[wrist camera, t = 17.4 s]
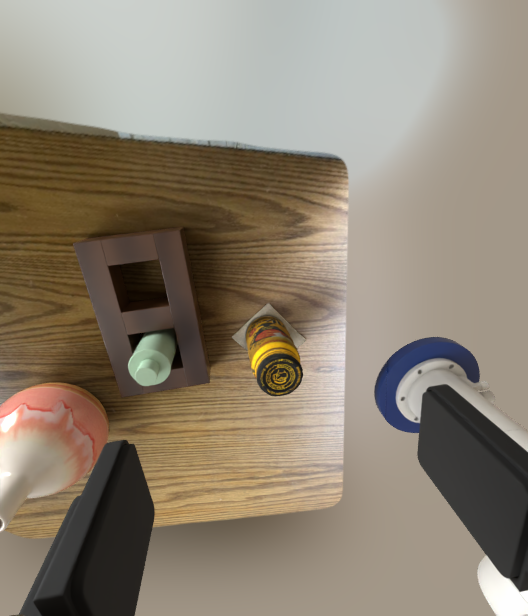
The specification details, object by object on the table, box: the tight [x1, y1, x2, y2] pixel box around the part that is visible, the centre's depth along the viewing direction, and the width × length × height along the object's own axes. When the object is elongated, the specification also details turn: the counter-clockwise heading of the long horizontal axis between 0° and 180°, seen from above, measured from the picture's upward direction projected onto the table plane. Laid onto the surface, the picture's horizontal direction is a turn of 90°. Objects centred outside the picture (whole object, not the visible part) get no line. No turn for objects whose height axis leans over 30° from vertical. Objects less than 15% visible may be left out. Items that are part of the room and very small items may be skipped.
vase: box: [0, 382, 109, 532], centre depth 38 cm, size 14×14×18 cm
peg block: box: [73, 227, 210, 397], centre depth 41 cm, size 12×21×4 cm, turn 6°
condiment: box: [232, 303, 306, 396], centre depth 41 cm, size 7×8×12 cm
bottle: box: [128, 328, 178, 386], centre depth 40 cm, size 5×5×10 cm
